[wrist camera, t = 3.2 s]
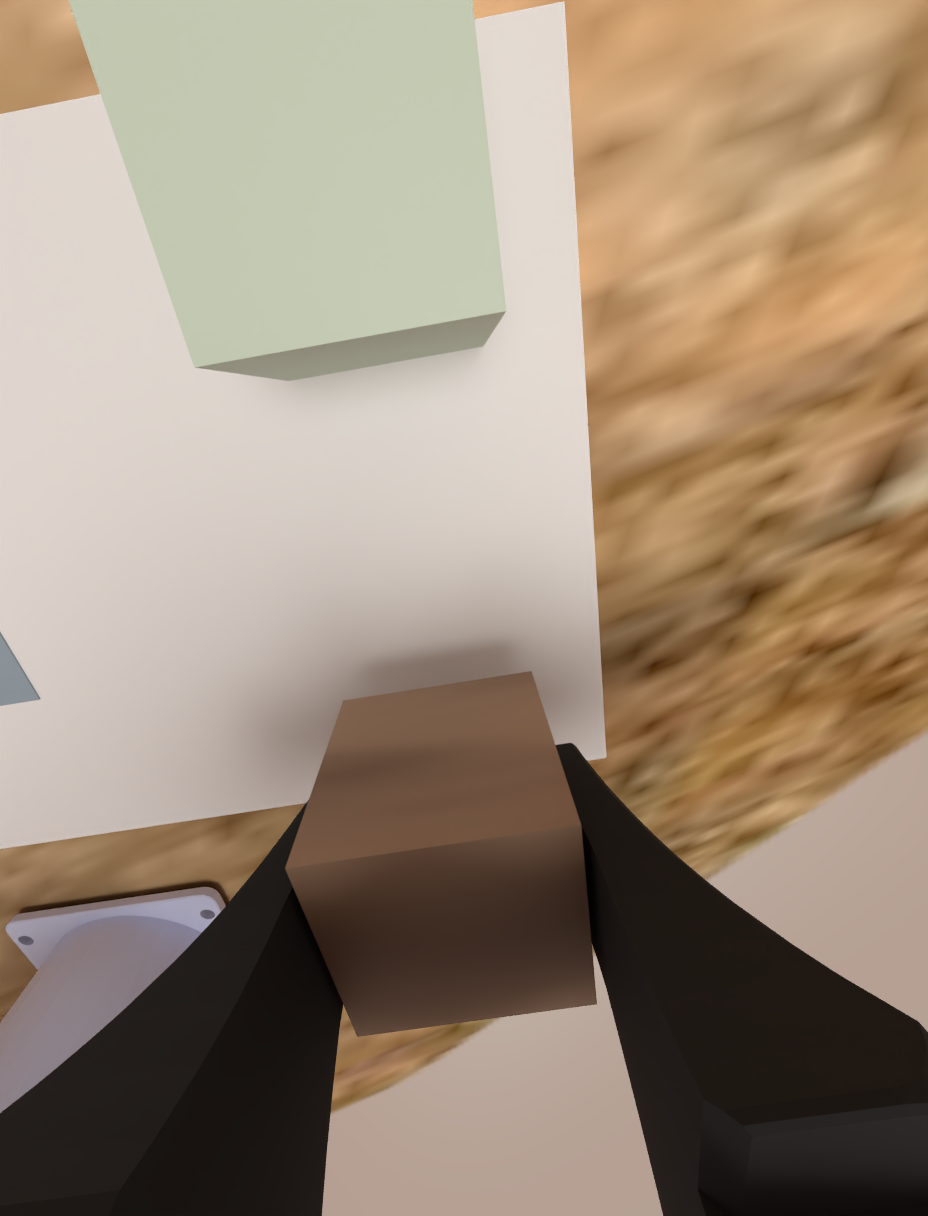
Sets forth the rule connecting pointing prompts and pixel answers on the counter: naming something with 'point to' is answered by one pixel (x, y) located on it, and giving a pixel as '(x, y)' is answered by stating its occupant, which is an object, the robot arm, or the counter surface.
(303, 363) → the sage block
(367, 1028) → the walnut block
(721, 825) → the counter surface
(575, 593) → the board
